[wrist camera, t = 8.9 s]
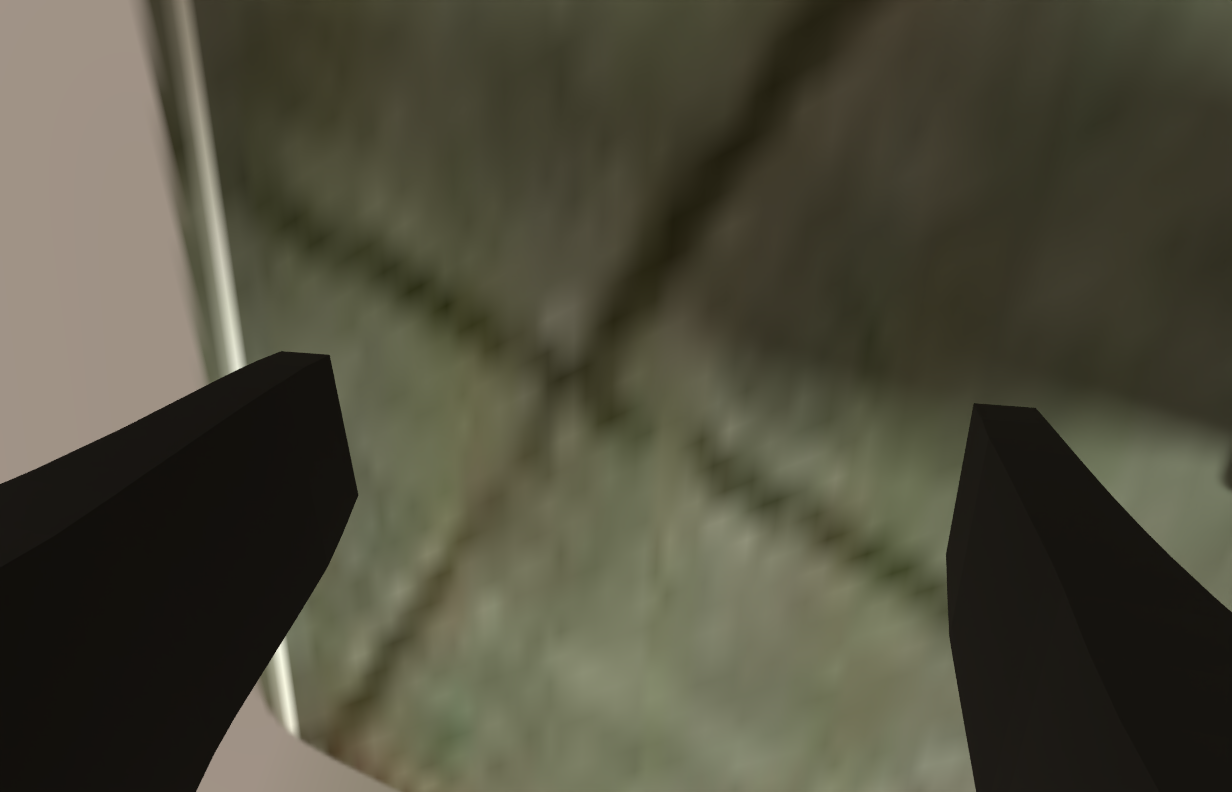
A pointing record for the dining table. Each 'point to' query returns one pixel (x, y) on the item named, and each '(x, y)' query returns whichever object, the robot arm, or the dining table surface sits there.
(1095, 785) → the robot arm
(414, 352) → the dining table surface
